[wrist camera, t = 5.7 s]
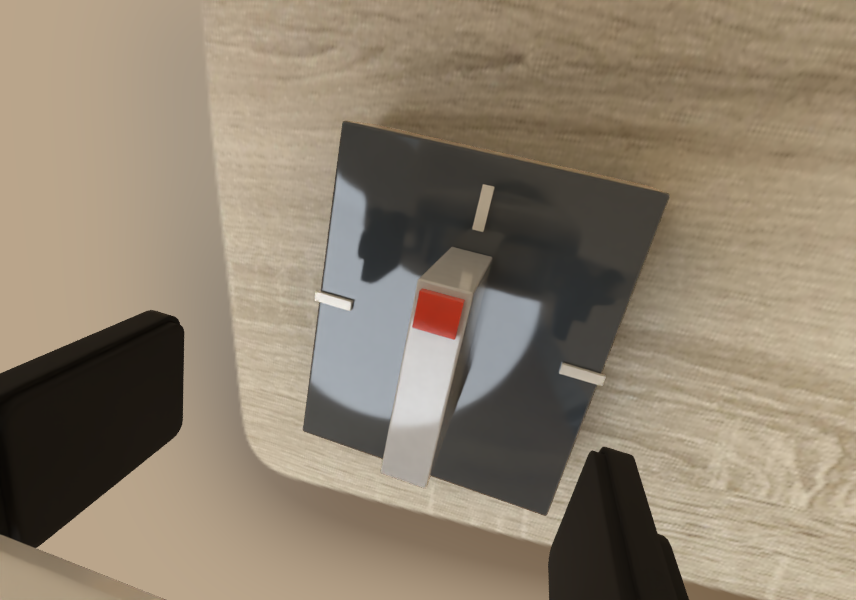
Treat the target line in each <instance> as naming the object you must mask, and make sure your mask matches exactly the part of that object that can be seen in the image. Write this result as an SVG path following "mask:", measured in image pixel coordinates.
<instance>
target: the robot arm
mask: <svg viewBox="0 0 856 600" xmlns="http://www.w3.org/2000/svg"><path fill="white" fill-rule="evenodd" d="M183 368H184V329H183V327H182V326H181V325H180V322H179V320H178V319H177V318H176V317H174V316H171V315H167V314H164V313H161V312H158V311H153V310H150V311H146V312H143V313H141V314H139V315H136V316H134V317H132V318H129V319H127V320H125V321H122V322H120V323H118V324H115V325H113V326H111V327H108V328H106V329H103V330H102V331H99V332H97V333H94V334H92V335H89V336H87V337H85V338H82V339H80V340H78V341H75V342H73V343H71V344H69V345H66V346H64V347H61V348H59V349H57V350H54V351H52V352H50V353H47V354H45V355H43V356H40V357H38V358H35V359H33V360H31V361H28V362H26V363H24V364H21V365H19V366H17V367H14V368H12V369H10V370H7V371H5V372H3V373H0V600H165V599H163V598H160V597H158V596H155V595H153V594H150V593H148V592H145V591H143V590H140V589H137V588H135V587H133V586H130V585H128V584H125V583H123V582H120V581H117V580H115V579H112V578H110V577H107V576H105V575H102V574H100V573H97V572H95V571H92V570H90V569H87V568H85V567H82V566H79V565H77V564H74V563H72V562H69V561H66V560H64V559H62V558H59V557H57V556H54V555H51V554H49V553H46V552H43V551H41V550H39V549H36V548H37V547H38V546H40V545H41V544H42V543H44V542H45V541H46V540H47V539H48V538H50V537H51V536H52V535H53V534H55V533H56V532H57V531H58V530H59V529H61V528H62V527H63V526H65V525H66V524H67V523H68V522H70V521H71V520H72V519H73V518H75V517H76V516H77V515H78V514H79V513H80V512H82V511H83V510H85V508H87V507H88V506H89V505H91V504H92V503H93V502H94V501H96V500H97V499H98V498H99V497H100V496H102V495H103V494H104V493H106V492H107V491H108V490H109V489H111V488H112V487H113V486H114V485H116V484H117V483H118V482H119V481H121V480H122V479H123V478H124V477H126V476H127V475H128V474H129V473H130V472H131V471H133V470H134V469H135V468H137V467H138V466H139V465H140V464H142V463H143V462H144V461H145V460H146V459H147V458H149V457H150V456H152V455H153V454H154V453H155V452H156V451H158V450H159V449H160V448H161V447H163V446H164V445H165V444H167V442H169V441H170V440H171V439H173V438H174V437H175V436H176V435H177V433H178V432H179V430H180V428H181V426H182V421H183V371H184V369H183ZM548 563H549V564H548V570H549V571H548V572H549V600H689V599H688V596H687V593H686V589H685V587H684V584H683V580H682V577H681V574H680V571H679V568H678V565H677V562H676V559H675V556H674V553H673V550H672V547H671V545H670V543H669V541H668V539H667V538H665V537H664V536H663V535H660V534H657V531H656V527H655V524H654V521H653V517H652V514H651V511H650V508H649V504H648V501H647V498H646V495H645V491H644V488H643V485H642V482H641V478H640V475H639V472H638V469H637V465H636V462H635V459H634V457H633V456H632V455H630V454H627V453H623V452H620V451H617V450H614V449H610V448H607V447H602V448H601V450H600V451H599V452H595V451H591V452H590V453H589V455H588V457H587V459H586V462H585V464H584V467H583V469H582V472H581V474H580V477H579V479H578V482H577V484H576V487H575V489H574V492H573V494H572V497H571V499H570V502H569V504H568V507H567V509H566V512H565V514H564V517H563V519H562V522H561V524H560V527H559V529H558V532H557V534H556V537H555V539H554V542H553V544H552V547H551V550H550V556H549V562H548Z"/></svg>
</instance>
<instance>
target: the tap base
mask: <svg viewBox="0 0 856 600" xmlns="http://www.w3.org/2000/svg"><path fill="white" fill-rule="evenodd" d="M668 200H669V194H668V193H666V192H663V191H661V190H658V189H656V188H653V187H651V186H648V185H644V184H639V183H635V182H631V181H626V180H622V179H617V178H613V177H608V176H604V175H599V174H595V173H590V172H586V171H581V170H577V169H573V168H568V167H564V166H559V165H555V164H550V163H546V162H541V161H537V160H532V159H528V158H523V157H519V156H515V155H510V154H506V153H501V152H497V151H492V150H488V149H483V148H479V147H474V146H470V145H465V144H461V143H457V142H452V141H448V140H443V139H439V138H434V137H430V136H425V135H421V134H416V133H412V132H407V131H403V130H399V129H394V128H390V127H385V126H381V125H376V124H368V123H361V122H353V121H343V123H342V130H341V138H340V146H339V154H338V161H337V169H336V177H335V185H334V192H333V200H332V208H331V216H330V224H329V231H328V239H327V247H326V255H325V262H324V270H323V278H322V286H321V291H318V290H317V291H315V298H314V301H318V302H319V309H318V317H317V324H316V332H315V340H314V348H313V356H312V363H311V371H310V379H309V387H308V394H307V402H306V410H305V418H304V425H303V431H304V432H307V433H310V434H313V435H316V436H319V437H321V438H324V439H327V440H330V441H333V442H336V443H338V444H341V445H344V446H347V447H350V448H353V449H356V450H358V451H361V452H364V453H367V454H370V455H373V456H376V457H378V458H381V459H383V455H384V450H385V445H386V440H387V435H388V430H389V425H390V419H391V414H392V409H393V404H394V399H395V394H396V389H397V384H398V378H399V373H400V368H401V363H402V358H403V353H404V348H405V343H406V338H407V332H408V327H409V322H410V317H411V312H412V307H413V302H414V297H415V291H416V286H417V281H418V279H419V278H420V277H421V276H422V275H423V274H424V273H425V272H426V271H427V270H428V269H429V268H430V267H431V266H432V265H433V264H434V263H435V262H436V261H437V260H438V259H439V258H440V257H441V256H442V255H443V254H444V253H445V252H446V251H447V250H448V249H449V248H450V247H455V248H459V249H463V250H467V251H471V252H474V253H478V254H482V255H486V256H490V257H492V259H493V260H492V264H491V268H490V272H489V276H488V280H487V284H486V287H485V291H484V295H483V299H482V303H481V307H480V311H479V315H478V319H477V323H476V327H475V331H474V335H473V339H472V343H471V347H470V351H469V355H468V359H467V363H466V367H465V371H464V375H463V379H462V383H461V387H460V391H459V395H458V399H457V403H456V407H455V411H454V415H453V417H452V420H451V423H450V425H449V428H448V431H447V434H446V436H445V439H444V442H443V444H442V447H441V450H440V452H439V455H438V458H437V461H436V463H435V466H434V469H433V471H432V474H431V476H433V477H436V478H438V479H441V480H444V481H447V482H450V483H453V484H456V485H458V486H461V487H464V488H467V489H470V490H473V491H476V492H478V493H481V494H484V495H487V496H490V497H493V498H496V499H498V500H501V501H504V502H507V503H510V504H513V505H516V506H518V507H521V508H524V509H527V510H530V511H533V512H536V513H538V514H541V515H544V516H546V515H547V514H548V512H549V509H550V506H551V504H552V501H553V499H554V496H555V493H556V491H557V488H558V486H559V483H560V480H561V478H562V475H563V473H564V470H565V467H566V465H567V462H568V460H569V457H570V454H571V452H572V449H573V447H574V444H575V441H576V439H577V436H578V434H579V431H580V428H581V426H582V423H583V421H584V418H585V415H586V413H587V410H588V408H589V405H590V402H591V400H592V397H593V395H594V392H595V390H596V387H597V385H599V386H603V383H604V380H605V378H606V376H605V375H604V374H602V371H603V369H604V366H605V364H606V361H607V358H608V356H609V353H610V351H611V348H612V345H613V343H614V340H615V338H616V335H617V332H618V330H619V327H620V325H621V322H622V319H623V317H624V314H625V312H626V309H627V306H628V304H629V301H630V299H631V296H632V293H633V291H634V288H635V286H636V283H637V280H638V278H639V275H640V273H641V270H642V267H643V265H644V262H645V260H646V257H647V254H648V252H649V249H650V247H651V244H652V241H653V239H654V236H655V234H656V231H657V229H658V226H659V223H660V221H661V218H662V216H663V213H664V210H665V208H666V205H667V203H668Z"/></svg>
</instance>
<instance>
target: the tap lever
mask: <svg viewBox="0 0 856 600" xmlns="http://www.w3.org/2000/svg"><path fill="white" fill-rule="evenodd" d="M492 260H493V259H492V257H490V256H486V255H482V254H478V253H474V252H471V251H467V250H463V249H459V248H455V247H450V248H449V249H448V250H447V251H446V252H445V253H444V254H443V255H442V256H441V257H440V258H439V259H438V260H437V261H436V262H435V263H434V264H433V265H432V266H431V267H430V268H429V269H428V270H427V271H426V272H425V273H424V274H423V275H422V276H421V277H420V278H419V279H418V281H417V286H416V291H415V297H414V302H413V307H412V312H411V317H410V322H409V327H408V332H407V338H406V343H405V348H404V353H403V358H402V363H401V368H400V373H399V378H398V384H397V389H396V394H395V399H394V404H393V409H392V414H391V419H390V425H389V430H388V435H387V440H386V445H385V450H384V455H383V460H382V466H381V473H382V474H384V475H387V476H390V477H393V478H396V479H399V480H401V481H404V482H407V483H410V484H413V485H416V486H419V487H422V488H426V487H427V485H428V482H429V479H430V477H431V474H432V471H433V469H434V466H435V463H436V461H437V458H438V455H439V452H440V450H441V447H442V444H443V442H444V439H445V436H446V434H447V431H448V428H449V425H450V423H451V420H452V417H453V415H454V411H455V407H456V403H457V399H458V395H459V391H460V387H461V383H462V379H463V375H464V371H465V367H466V363H467V359H468V355H469V351H470V347H471V343H472V339H473V335H474V331H475V327H476V323H477V319H478V315H479V311H480V307H481V303H482V299H483V295H484V291H485V287H486V284H487V280H488V276H489V272H490V268H491V264H492Z"/></svg>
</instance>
